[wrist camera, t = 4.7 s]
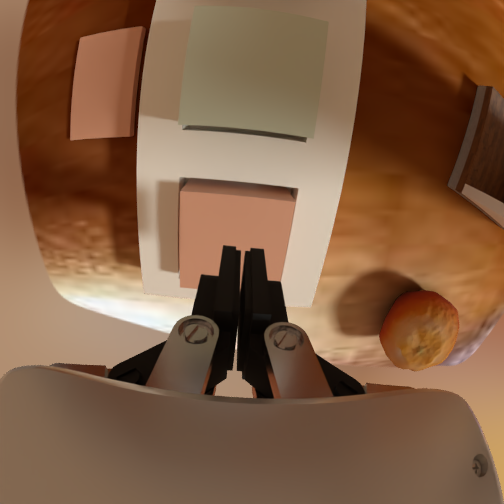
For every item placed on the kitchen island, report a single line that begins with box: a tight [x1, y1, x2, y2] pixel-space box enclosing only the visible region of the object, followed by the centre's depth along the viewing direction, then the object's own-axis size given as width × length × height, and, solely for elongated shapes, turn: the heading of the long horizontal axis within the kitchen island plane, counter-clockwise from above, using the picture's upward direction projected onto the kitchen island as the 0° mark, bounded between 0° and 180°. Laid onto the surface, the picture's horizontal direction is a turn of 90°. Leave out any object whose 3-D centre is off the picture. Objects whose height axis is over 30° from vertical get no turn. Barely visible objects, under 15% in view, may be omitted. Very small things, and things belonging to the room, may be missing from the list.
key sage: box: [178, 6, 329, 139], centre depth 11 cm, size 6×6×3 cm
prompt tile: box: [70, 26, 146, 140], centre depth 14 cm, size 8×5×1 cm, turn 173°
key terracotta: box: [179, 178, 295, 289], centre depth 17 cm, size 6×6×3 cm
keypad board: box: [137, 0, 366, 307], centre depth 14 cm, size 29×12×3 cm, turn 173°
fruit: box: [379, 290, 459, 371], centre depth 22 cm, size 8×8×8 cm
